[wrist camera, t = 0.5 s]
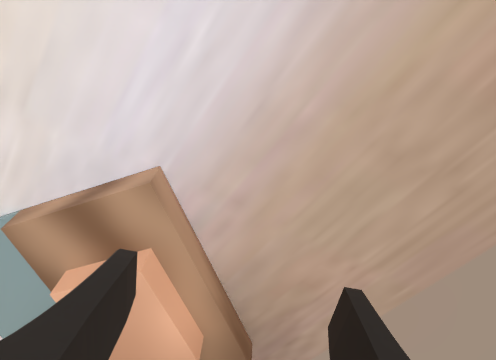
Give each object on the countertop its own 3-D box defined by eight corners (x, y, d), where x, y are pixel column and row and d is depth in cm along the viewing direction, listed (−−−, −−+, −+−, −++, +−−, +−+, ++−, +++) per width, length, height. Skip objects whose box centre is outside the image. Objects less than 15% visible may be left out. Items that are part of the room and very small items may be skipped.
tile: (127, 352, 27) (117, 378, 25) (66, 270, 23) (49, 294, 22) (203, 336, 26) (198, 362, 24) (151, 248, 22) (140, 271, 20)
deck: (137, 366, 31) (129, 389, 29) (20, 210, 24) (0, 228, 22) (252, 343, 29) (250, 367, 27) (159, 166, 22) (150, 182, 20)
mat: (38, 368, 32) (36, 373, 31) (-81, 242, 26) (-86, 246, 25) (126, 350, 30) (124, 355, 30) (20, 210, 24) (16, 213, 23)
